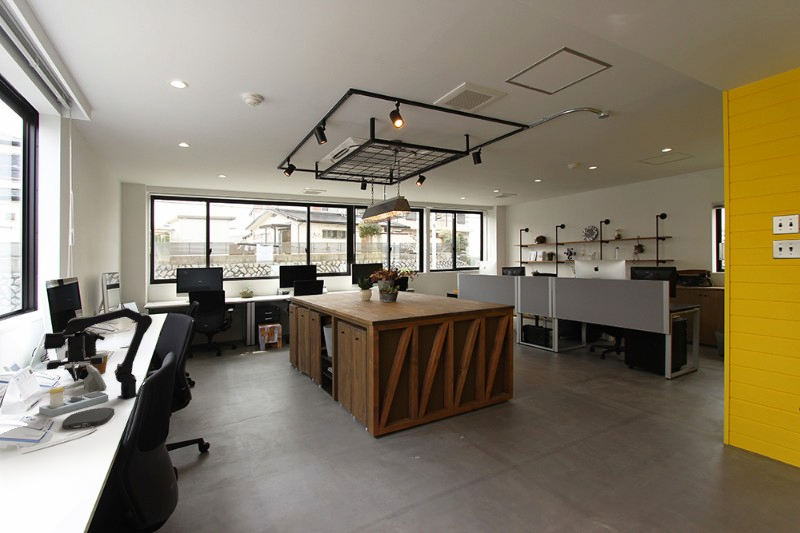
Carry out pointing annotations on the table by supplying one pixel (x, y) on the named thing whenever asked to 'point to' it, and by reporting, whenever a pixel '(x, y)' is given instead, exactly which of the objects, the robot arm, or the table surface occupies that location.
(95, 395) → the pad
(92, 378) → the grey triangular stone
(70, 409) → the housing
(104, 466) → the table surface
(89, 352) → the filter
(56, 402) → the cartridge
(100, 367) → the disposable coffee cup
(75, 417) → the media streaming box
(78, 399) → the plunger
